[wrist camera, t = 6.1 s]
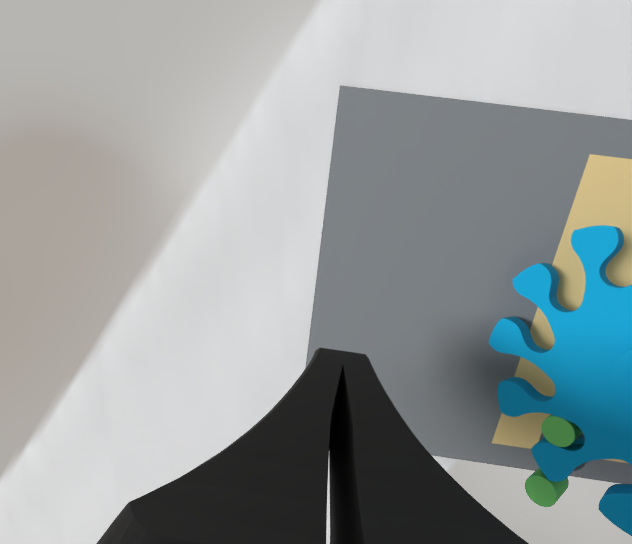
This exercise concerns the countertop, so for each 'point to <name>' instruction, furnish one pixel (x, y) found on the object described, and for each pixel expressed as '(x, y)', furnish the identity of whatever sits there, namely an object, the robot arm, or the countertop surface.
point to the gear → (576, 373)
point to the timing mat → (462, 254)
